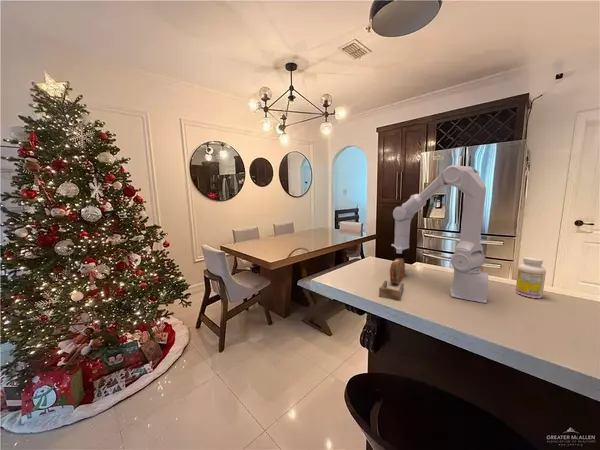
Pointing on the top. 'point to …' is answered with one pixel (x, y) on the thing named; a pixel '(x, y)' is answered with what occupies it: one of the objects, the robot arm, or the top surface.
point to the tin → (397, 270)
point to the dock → (390, 292)
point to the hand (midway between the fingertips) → (400, 266)
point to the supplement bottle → (531, 277)
